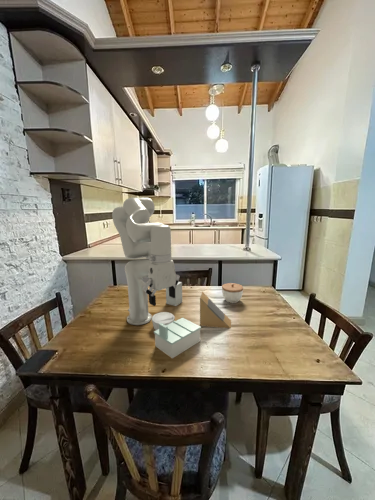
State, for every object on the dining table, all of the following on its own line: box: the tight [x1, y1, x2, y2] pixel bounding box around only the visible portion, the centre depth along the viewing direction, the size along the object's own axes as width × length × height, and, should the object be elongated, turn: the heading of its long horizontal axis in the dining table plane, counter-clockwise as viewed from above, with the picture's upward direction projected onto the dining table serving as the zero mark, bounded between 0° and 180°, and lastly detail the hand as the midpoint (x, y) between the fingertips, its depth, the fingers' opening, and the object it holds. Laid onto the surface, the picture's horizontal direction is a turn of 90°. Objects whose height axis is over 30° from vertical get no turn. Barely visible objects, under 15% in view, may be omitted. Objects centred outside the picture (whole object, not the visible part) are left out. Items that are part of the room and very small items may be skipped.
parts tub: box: [154, 329, 201, 359], centre depth 99 cm, size 11×16×6 cm
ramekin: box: [151, 311, 176, 331], centre depth 112 cm, size 11×11×5 cm
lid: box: [153, 317, 202, 345], centre depth 98 cm, size 12×17×6 cm
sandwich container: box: [199, 291, 232, 329], centre depth 115 cm, size 9×15×15 cm, turn 80°
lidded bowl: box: [221, 282, 244, 304], centre depth 141 cm, size 13×13×11 cm
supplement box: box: [165, 281, 183, 307], centre depth 138 cm, size 7×7×13 cm
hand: (162, 300), depth 90 cm, fingers open, 9 cm apart
